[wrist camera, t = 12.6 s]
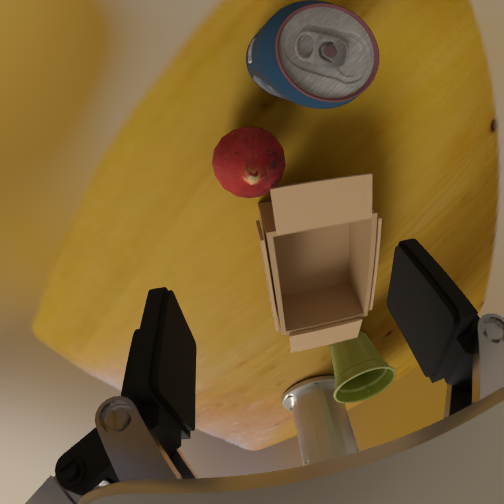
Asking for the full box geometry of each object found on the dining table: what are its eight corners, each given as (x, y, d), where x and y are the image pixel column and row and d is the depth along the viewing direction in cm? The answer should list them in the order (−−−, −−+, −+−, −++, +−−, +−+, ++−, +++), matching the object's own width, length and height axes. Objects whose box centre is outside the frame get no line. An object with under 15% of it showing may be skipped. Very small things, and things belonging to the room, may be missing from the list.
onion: (271, 115, 25) (290, 131, 18) (280, 173, 28) (300, 208, 22) (207, 128, 25) (202, 148, 19) (221, 185, 28) (221, 224, 22)
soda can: (327, 34, 21) (395, 16, 11) (315, 102, 25) (377, 125, 15) (250, 20, 20) (273, -20, 10) (240, 91, 24) (254, 101, 14)
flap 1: (372, 173, 22) (370, 172, 22) (270, 189, 22) (269, 188, 23) (371, 217, 24) (370, 216, 25) (276, 235, 24) (276, 233, 25)
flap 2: (290, 352, 34) (290, 350, 34) (357, 337, 34) (356, 335, 34) (289, 336, 32) (289, 334, 32) (362, 319, 31) (361, 317, 32)
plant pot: (372, 351, 46) (390, 391, 39) (320, 365, 47) (333, 409, 39) (378, 314, 41) (401, 359, 34) (318, 330, 41) (334, 380, 34)
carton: (354, 281, 37) (371, 314, 32) (269, 299, 37) (276, 336, 32) (356, 186, 30) (382, 211, 25) (252, 204, 30) (259, 234, 25)
